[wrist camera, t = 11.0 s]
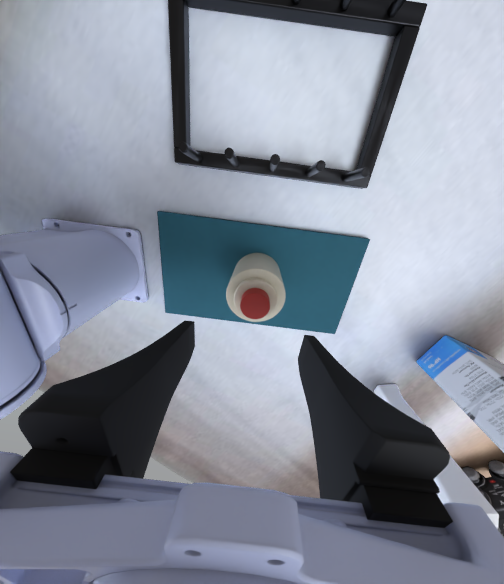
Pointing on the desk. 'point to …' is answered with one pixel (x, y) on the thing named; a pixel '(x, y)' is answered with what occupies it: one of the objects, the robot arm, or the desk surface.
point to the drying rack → (311, 10)
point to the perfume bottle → (452, 477)
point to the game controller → (491, 488)
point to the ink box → (470, 383)
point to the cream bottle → (256, 288)
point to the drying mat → (267, 240)
